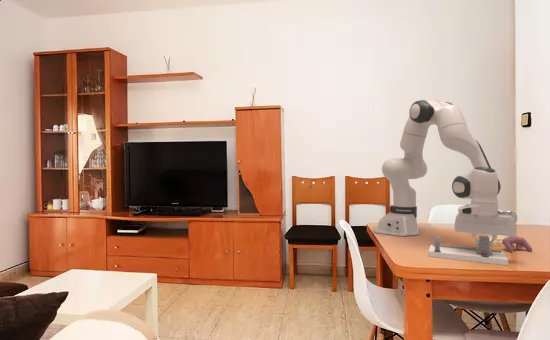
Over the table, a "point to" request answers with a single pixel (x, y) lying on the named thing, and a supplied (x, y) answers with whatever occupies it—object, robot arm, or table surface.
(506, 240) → the video game controller
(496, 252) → the gauge board
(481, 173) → the robot arm
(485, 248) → the leg
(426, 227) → the table surface
